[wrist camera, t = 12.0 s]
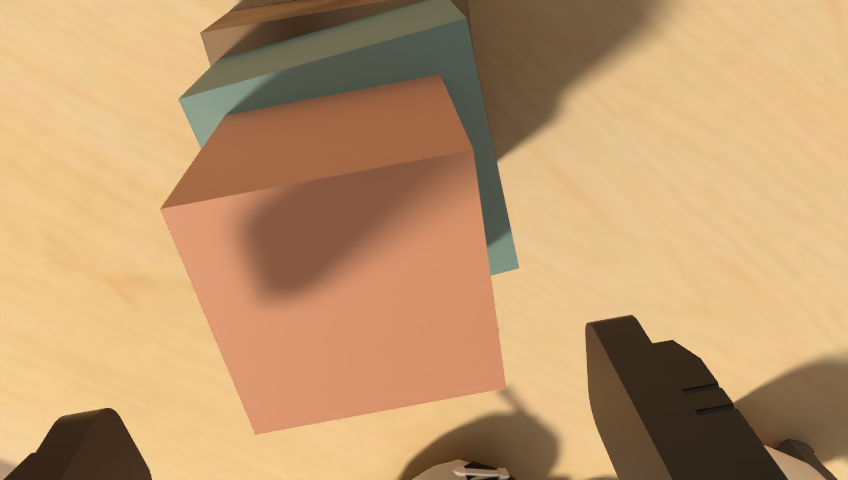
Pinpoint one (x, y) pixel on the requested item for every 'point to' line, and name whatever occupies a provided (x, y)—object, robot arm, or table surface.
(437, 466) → the robot toy
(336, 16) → the tower base
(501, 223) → the tower top
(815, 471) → the giant panda
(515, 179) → the table surface
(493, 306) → the terracotta cube
